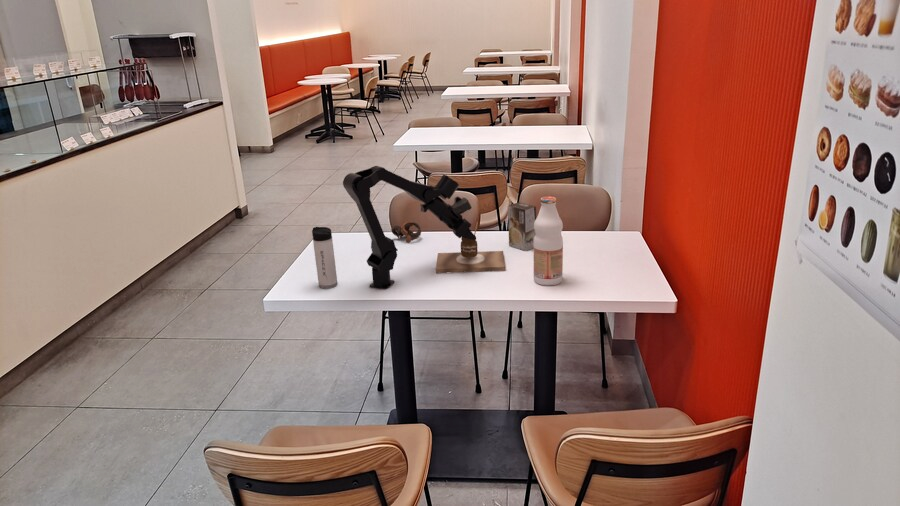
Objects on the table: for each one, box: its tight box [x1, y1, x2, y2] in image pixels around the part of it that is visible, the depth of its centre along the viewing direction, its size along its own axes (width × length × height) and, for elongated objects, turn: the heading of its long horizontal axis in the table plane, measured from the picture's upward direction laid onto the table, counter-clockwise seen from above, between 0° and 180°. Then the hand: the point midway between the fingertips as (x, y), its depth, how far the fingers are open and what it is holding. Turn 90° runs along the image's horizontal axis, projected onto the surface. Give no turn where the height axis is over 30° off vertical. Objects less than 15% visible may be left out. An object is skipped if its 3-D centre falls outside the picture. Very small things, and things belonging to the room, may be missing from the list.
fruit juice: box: [533, 196, 564, 286], centre depth 204 cm, size 9×9×28 cm
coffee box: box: [507, 201, 537, 252], centre depth 238 cm, size 9×6×16 cm
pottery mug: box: [390, 221, 422, 244], centre depth 254 cm, size 12×10×8 cm
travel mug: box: [311, 226, 338, 289], centre depth 211 cm, size 6×7×20 cm
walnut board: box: [435, 250, 506, 274], centre depth 226 cm, size 24×16×2 cm, turn 88°
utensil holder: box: [460, 221, 479, 258], centre depth 223 cm, size 6×6×12 cm
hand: (472, 236), depth 223 cm, fingers closed on utensil holder, 5 cm apart
